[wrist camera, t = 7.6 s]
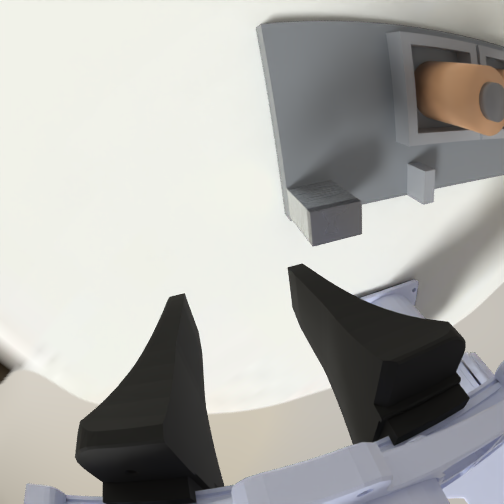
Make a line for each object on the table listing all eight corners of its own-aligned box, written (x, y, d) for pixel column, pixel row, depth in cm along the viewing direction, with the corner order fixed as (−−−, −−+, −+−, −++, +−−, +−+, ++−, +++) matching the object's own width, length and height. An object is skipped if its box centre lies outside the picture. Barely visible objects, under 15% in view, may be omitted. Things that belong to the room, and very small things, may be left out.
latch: (332, 208, 21) (361, 233, 17) (290, 217, 21) (312, 246, 17) (331, 179, 20) (361, 201, 16) (286, 188, 20) (309, 212, 16)
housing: (505, 169, 24) (527, 179, 21) (285, 213, 22) (300, 233, 19) (504, 49, 18) (529, 51, 15) (255, 27, 16) (269, 16, 13)
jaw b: (456, 115, 19) (516, 134, 14) (415, 123, 19) (478, 143, 14) (449, 60, 17) (512, 67, 12) (406, 62, 17) (471, 66, 12)
